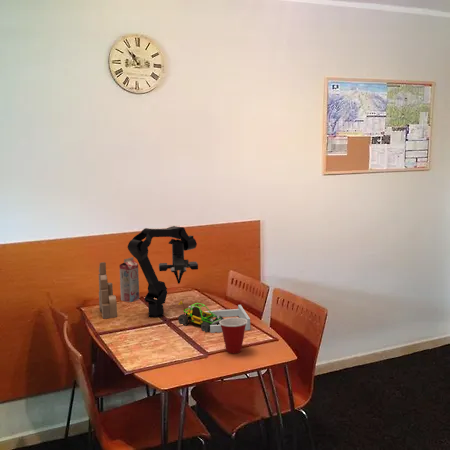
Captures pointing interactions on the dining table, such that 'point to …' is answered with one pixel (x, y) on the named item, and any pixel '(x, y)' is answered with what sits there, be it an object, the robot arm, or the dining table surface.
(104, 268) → the wooden toy
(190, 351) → the dining table surface
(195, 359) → the dining table surface
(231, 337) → the plastic cup
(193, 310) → the motor vehicle
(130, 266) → the milk carton
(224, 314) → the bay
